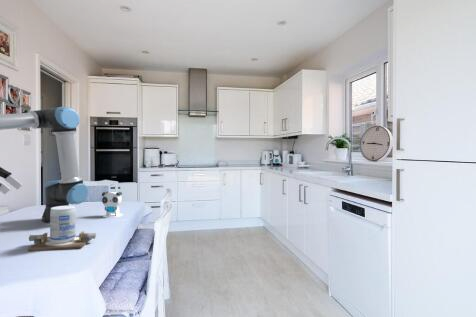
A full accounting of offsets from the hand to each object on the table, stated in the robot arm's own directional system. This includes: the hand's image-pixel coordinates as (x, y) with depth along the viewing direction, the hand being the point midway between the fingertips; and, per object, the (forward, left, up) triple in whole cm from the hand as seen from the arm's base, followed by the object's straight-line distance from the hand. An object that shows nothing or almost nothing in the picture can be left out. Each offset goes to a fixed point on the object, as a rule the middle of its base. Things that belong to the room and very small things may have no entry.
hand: (14, 189), depth 121 cm
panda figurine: (-52, +27, -24) cm, 63 cm away
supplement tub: (+1, +19, -23) cm, 30 cm away
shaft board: (+1, +20, -24) cm, 31 cm away
